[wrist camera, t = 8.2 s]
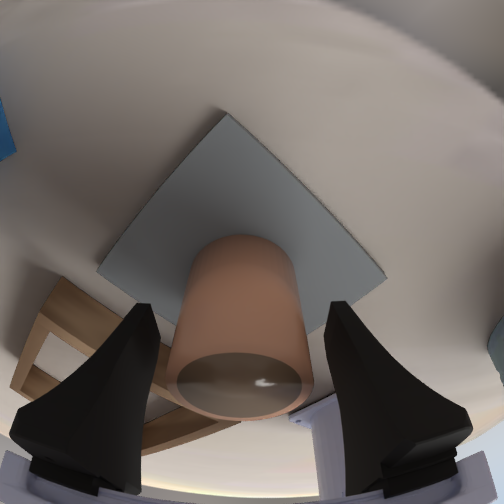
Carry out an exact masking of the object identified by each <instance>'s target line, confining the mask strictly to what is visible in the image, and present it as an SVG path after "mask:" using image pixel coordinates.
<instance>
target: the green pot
mask: <svg viewBox="0 0 504 504" xmlns="http://www.w3.org/2000/svg"><path fill="white" fill-rule="evenodd" d="M487 347H488V352H489V355H490V357H491V359H492V361H493V363H494V366H495V368H496V370H497V371H498V372H499V373H500V379H501V382H502V383H503V386H504V316H503V318H502V319H501V320H500V322H499V323H498V324H497V326H496V327H495V329H494V331H493V332H492V334H491V336H490V339H489V342H488V345H487Z"/></svg>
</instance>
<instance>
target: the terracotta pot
mask: <svg viewBox="0 0 504 504" xmlns="http://www.w3.org/2000/svg"><path fill="white" fill-rule="evenodd" d="M165 382H166V386H167V388H168V390H169V392H170V393H171V395H172V396H173V397H174V398H175V399H176V400H177V401H178V402H180V403H181V404H182V405H184V406H185V407H187V408H189V409H191V410H193V411H195V412H197V413H200V414H203V415H206V416H209V417H213V418H217V419H223V420H232V421H254V420H262V419H267V418H272V417H276V416H279V415H282V414H284V413H287V412H289V411H291V410H293V409H295V408H296V407H298V406H299V405H301V404H302V403H303V402H304V401H305V400H306V399H307V398H308V397H309V395H310V394H311V392H312V389H313V386H314V379H313V372H312V366H311V360H310V354H309V348H308V342H307V336H306V330H305V324H304V319H303V313H302V307H301V302H300V296H299V291H298V285H297V280H296V275H295V270H294V266H293V263H292V261H291V260H290V258H289V256H288V255H287V254H286V253H285V251H283V250H282V249H281V248H280V247H279V246H277V245H276V244H275V243H273V242H271V241H269V240H267V239H264V238H261V237H257V236H253V235H231V236H226V237H222V238H220V239H217V240H215V241H213V242H211V243H209V244H208V245H206V246H205V247H204V248H203V249H202V250H201V251H200V252H199V253H198V254H197V255H196V257H195V259H194V260H193V263H192V265H191V269H190V273H189V277H188V281H187V285H186V288H185V292H184V296H183V300H182V305H181V309H180V313H179V317H178V321H177V325H176V330H175V334H174V338H173V343H172V347H171V351H170V356H169V361H168V365H167V370H166V375H165Z"/></svg>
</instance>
